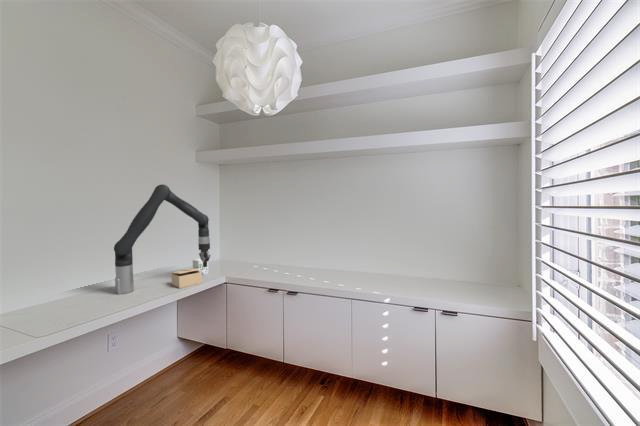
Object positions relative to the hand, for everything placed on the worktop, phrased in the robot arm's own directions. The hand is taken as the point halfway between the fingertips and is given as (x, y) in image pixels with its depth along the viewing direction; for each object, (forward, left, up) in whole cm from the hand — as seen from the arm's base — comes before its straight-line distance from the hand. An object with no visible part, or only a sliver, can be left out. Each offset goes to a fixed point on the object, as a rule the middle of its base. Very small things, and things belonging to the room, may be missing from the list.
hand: (205, 266), depth 208 cm
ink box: (+7, +23, -10) cm, 26 cm away
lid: (-12, +3, -1) cm, 12 cm away
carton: (-12, +3, -10) cm, 16 cm away
